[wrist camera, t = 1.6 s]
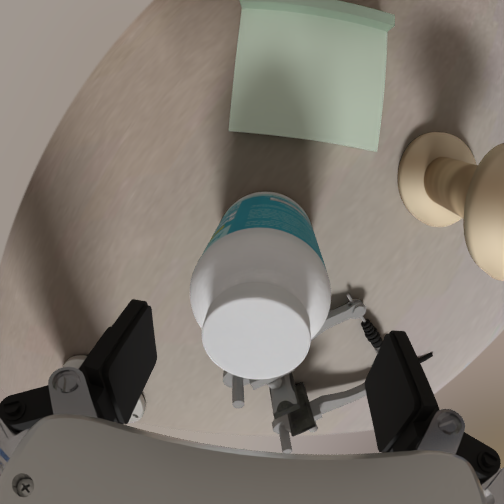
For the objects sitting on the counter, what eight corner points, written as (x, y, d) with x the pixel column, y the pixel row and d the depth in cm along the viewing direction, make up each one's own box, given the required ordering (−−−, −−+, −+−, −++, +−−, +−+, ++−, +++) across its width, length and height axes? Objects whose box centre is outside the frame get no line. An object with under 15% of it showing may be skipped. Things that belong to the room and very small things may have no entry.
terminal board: (372, 150, 22) (384, 153, 19) (230, 131, 22) (224, 131, 19) (382, 25, 17) (394, 15, 15) (244, 3, 18) (241, -11, 15)
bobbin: (461, 229, 23) (535, 284, 13) (389, 215, 23) (455, 275, 13) (478, 145, 20) (565, 167, 10) (405, 121, 20) (488, 123, 10)
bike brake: (278, 424, 33) (422, 344, 31) (285, 466, 27) (451, 377, 25) (213, 353, 29) (390, 252, 27) (210, 399, 23) (428, 277, 21)
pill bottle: (226, 182, 23) (171, 245, 11) (320, 198, 23) (368, 277, 11) (216, 268, 26) (171, 384, 14) (301, 282, 26) (316, 405, 14)
